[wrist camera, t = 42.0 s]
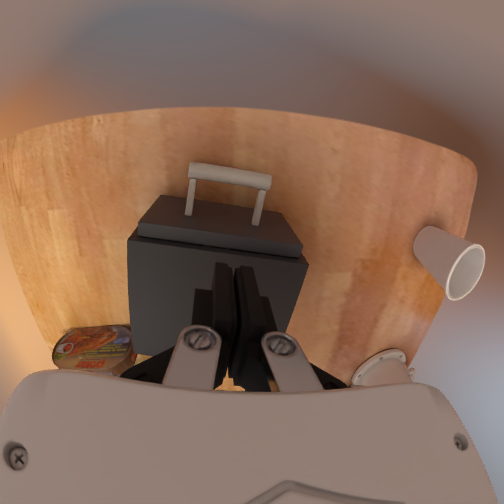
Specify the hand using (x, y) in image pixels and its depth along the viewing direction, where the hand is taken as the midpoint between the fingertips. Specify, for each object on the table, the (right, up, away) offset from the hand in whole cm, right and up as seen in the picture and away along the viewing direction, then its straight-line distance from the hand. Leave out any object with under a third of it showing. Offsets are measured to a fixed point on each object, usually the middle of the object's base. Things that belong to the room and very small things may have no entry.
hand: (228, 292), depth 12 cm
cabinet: (-4, +1, +21) cm, 21 cm away
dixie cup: (+28, +3, +23) cm, 37 cm away
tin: (-22, -11, +24) cm, 35 cm away
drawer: (-3, +4, +18) cm, 19 cm away
